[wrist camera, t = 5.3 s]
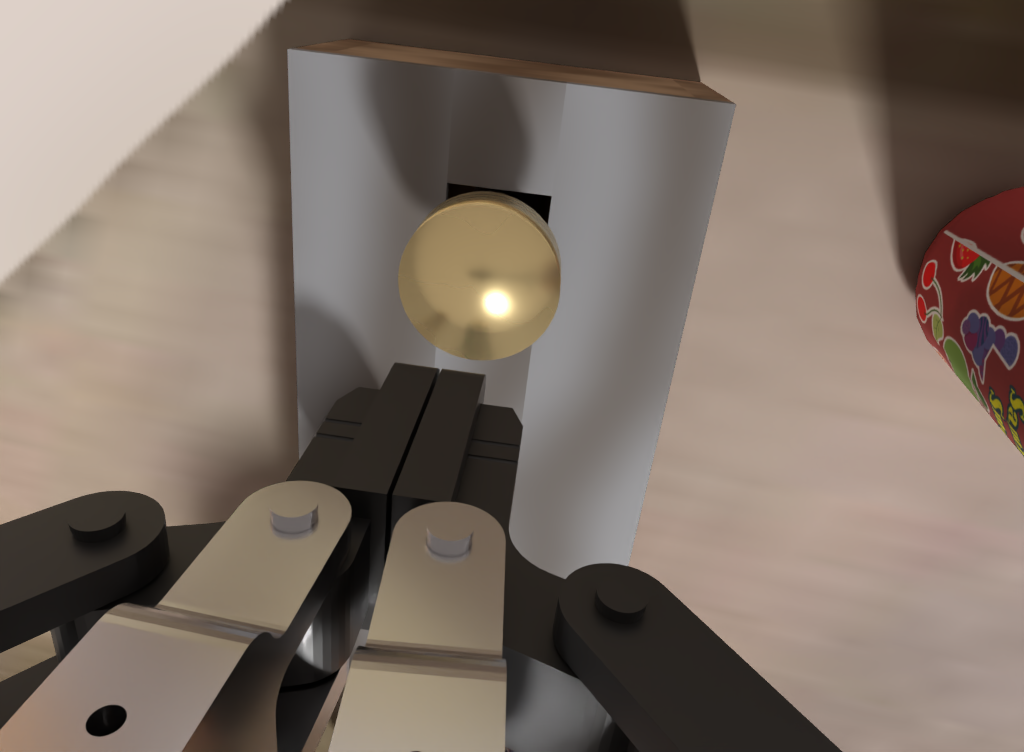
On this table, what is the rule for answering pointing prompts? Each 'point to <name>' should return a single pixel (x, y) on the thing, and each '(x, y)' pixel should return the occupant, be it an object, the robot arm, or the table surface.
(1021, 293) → the smoothie
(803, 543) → the table surface
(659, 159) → the mount
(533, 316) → the knob
